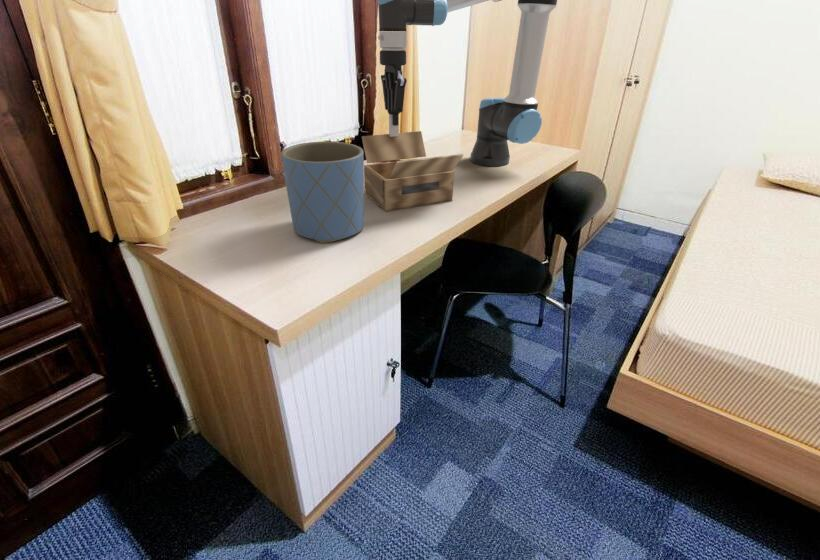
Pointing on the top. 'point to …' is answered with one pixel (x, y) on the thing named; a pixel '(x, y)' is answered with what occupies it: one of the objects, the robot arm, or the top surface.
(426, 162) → the near flap
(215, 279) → the top surface
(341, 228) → the planter
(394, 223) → the top surface
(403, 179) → the carton
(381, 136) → the far flap
